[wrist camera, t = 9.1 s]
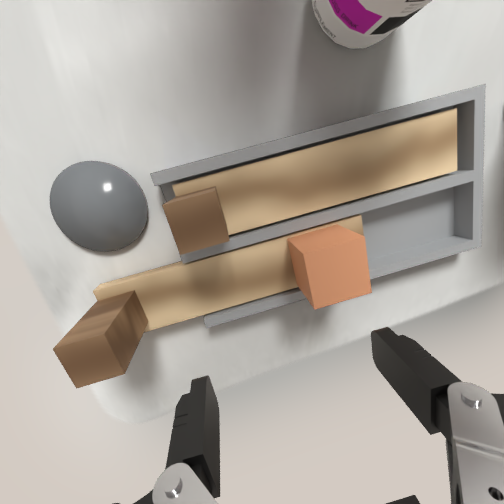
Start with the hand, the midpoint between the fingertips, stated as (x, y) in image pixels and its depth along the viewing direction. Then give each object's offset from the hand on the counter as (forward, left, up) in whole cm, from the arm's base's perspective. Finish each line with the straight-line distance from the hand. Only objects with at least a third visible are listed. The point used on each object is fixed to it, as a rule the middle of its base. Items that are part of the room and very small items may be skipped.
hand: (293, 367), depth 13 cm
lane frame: (-3, +8, -16) cm, 18 cm away
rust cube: (+1, +6, -14) cm, 15 cm away
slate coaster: (-9, -12, -16) cm, 22 cm away
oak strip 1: (-7, +8, -16) cm, 19 cm away
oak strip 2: (+1, -2, -16) cm, 16 cm away
